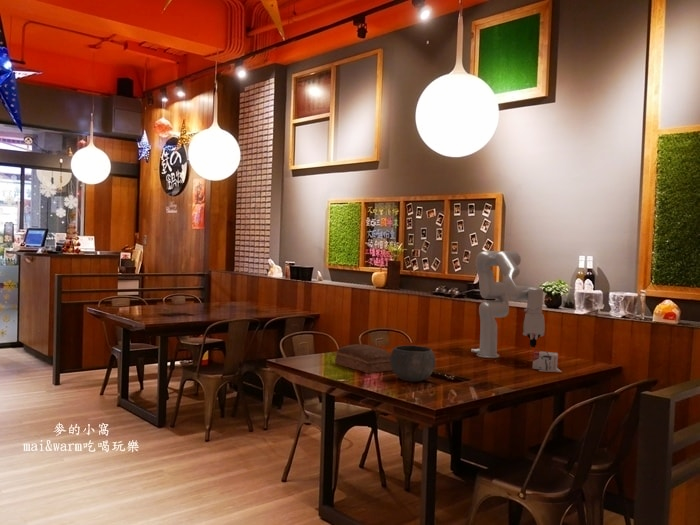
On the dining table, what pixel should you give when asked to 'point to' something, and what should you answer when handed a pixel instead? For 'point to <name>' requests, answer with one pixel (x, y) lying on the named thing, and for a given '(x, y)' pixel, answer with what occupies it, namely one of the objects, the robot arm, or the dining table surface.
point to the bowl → (412, 362)
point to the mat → (550, 371)
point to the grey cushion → (364, 358)
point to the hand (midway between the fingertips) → (532, 346)
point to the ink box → (545, 360)
